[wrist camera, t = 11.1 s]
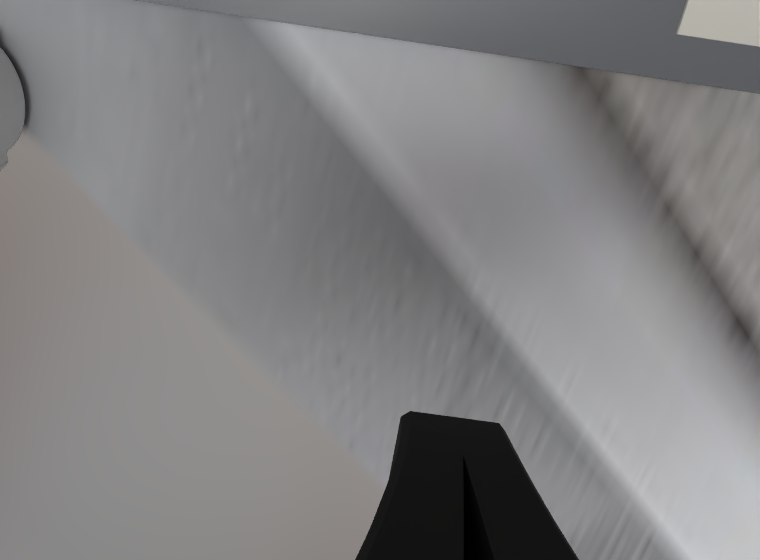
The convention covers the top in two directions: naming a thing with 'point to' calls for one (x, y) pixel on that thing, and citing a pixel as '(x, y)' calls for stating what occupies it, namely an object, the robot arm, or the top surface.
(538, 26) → the switch board
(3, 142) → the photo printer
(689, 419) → the top surface
